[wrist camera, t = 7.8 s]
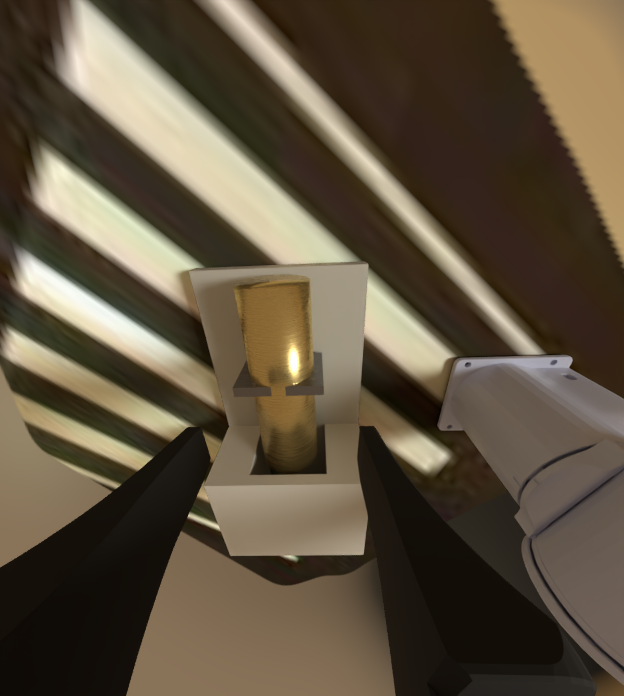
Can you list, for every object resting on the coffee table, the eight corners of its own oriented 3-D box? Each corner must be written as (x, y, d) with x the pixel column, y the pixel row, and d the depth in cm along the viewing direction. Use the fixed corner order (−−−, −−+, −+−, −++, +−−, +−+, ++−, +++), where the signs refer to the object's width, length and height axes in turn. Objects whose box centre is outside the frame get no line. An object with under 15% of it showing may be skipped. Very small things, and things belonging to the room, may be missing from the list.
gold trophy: (319, 272, 16) (321, 288, 12) (323, 429, 22) (325, 473, 18) (235, 276, 16) (209, 292, 12) (263, 431, 22) (252, 474, 18)
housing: (365, 261, 17) (394, 282, 11) (352, 480, 28) (363, 554, 22) (196, 268, 17) (129, 292, 11) (249, 482, 28) (230, 555, 22)
